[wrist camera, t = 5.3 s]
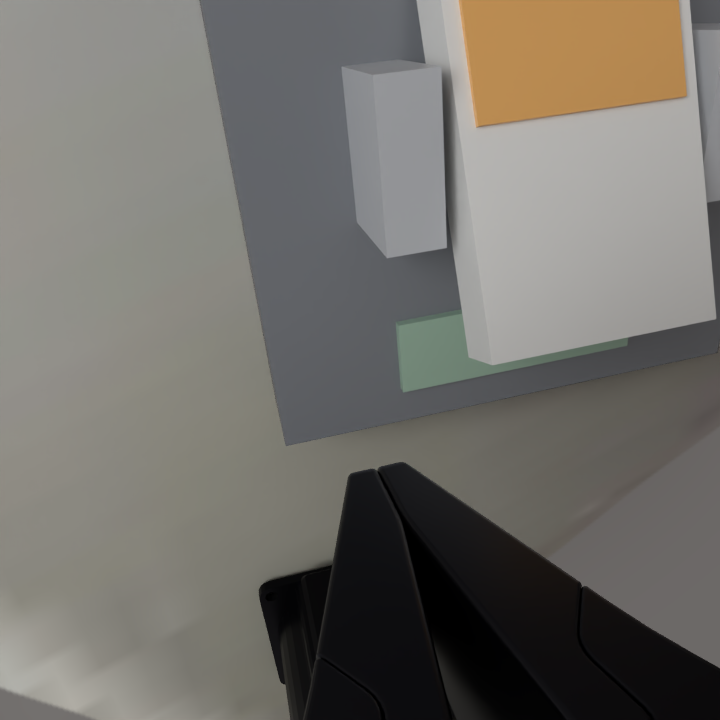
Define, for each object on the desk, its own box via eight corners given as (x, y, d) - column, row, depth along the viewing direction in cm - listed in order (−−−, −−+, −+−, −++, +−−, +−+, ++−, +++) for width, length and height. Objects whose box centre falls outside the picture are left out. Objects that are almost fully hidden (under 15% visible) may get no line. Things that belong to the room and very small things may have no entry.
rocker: (674, 315, 17) (720, 319, 16) (468, 357, 16) (494, 365, 15) (637, -76, 16) (684, -120, 14) (408, -55, 15) (429, -98, 13)
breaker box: (664, 319, 26) (787, 396, 20) (275, 399, 23) (300, 510, 18) (756, -283, 17) (1014, -424, 12) (150, -258, 15) (125, -422, 9)
